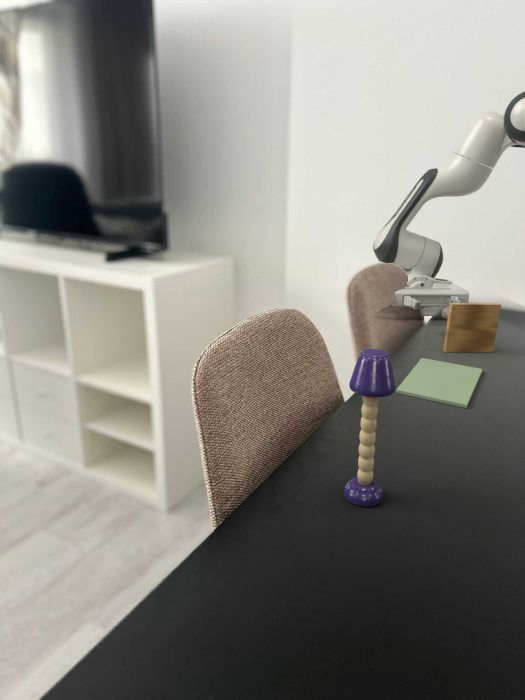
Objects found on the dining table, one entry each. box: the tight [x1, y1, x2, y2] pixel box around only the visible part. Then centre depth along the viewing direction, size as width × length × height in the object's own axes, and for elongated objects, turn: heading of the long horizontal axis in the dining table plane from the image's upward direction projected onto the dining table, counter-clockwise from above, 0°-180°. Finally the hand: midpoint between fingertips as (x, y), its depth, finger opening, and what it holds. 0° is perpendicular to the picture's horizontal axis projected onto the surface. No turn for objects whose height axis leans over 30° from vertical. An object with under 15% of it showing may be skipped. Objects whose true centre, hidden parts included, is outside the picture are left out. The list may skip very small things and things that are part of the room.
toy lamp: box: [343, 348, 396, 508], centre depth 54 cm, size 5×5×17 cm
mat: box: [395, 357, 484, 409], centre depth 89 cm, size 18×11×1 cm, turn 151°
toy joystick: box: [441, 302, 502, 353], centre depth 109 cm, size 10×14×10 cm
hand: (437, 304), depth 120 cm, fingers open, 8 cm apart
